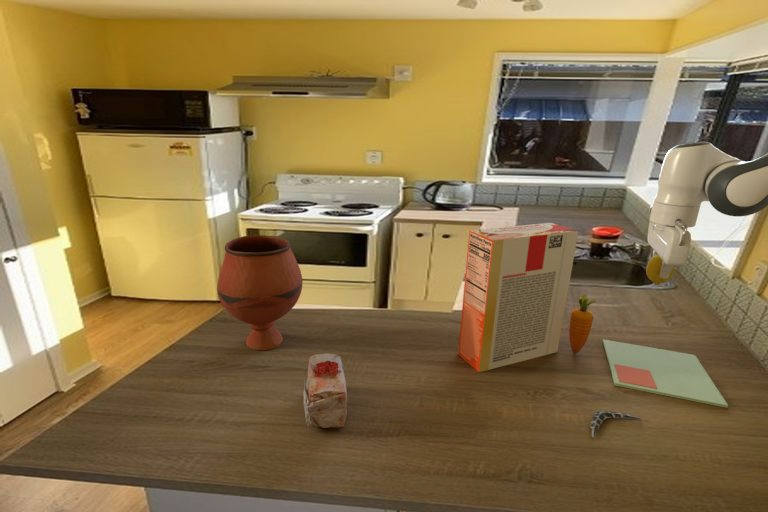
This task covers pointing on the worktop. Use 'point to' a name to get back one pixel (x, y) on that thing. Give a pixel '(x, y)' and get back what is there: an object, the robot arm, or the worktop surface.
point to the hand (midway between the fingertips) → (659, 272)
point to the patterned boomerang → (602, 415)
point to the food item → (325, 392)
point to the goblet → (259, 285)
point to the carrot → (580, 324)
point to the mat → (661, 372)
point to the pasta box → (515, 293)
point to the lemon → (656, 270)
